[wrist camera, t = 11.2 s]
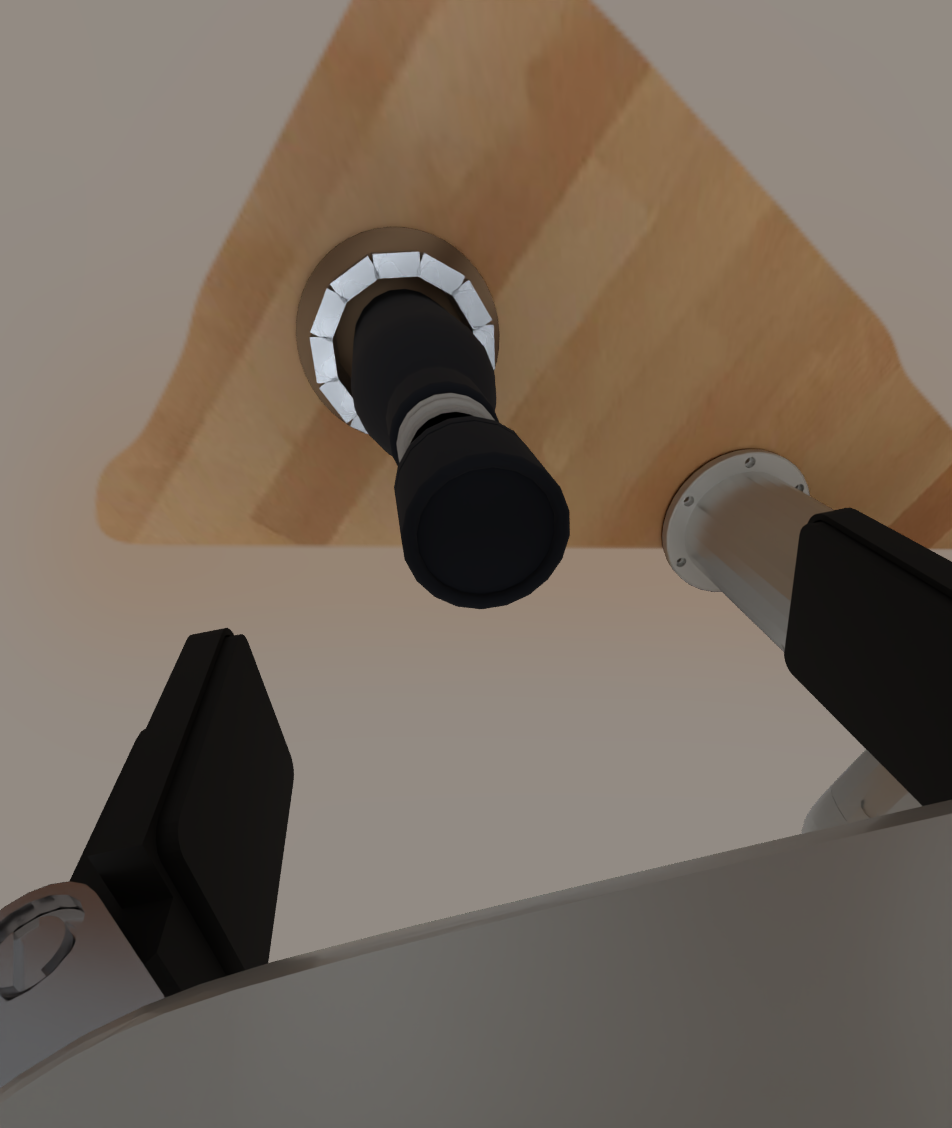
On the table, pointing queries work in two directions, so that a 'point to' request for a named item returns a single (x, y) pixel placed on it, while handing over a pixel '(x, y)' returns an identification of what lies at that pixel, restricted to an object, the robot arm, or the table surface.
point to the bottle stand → (366, 274)
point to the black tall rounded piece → (453, 456)
